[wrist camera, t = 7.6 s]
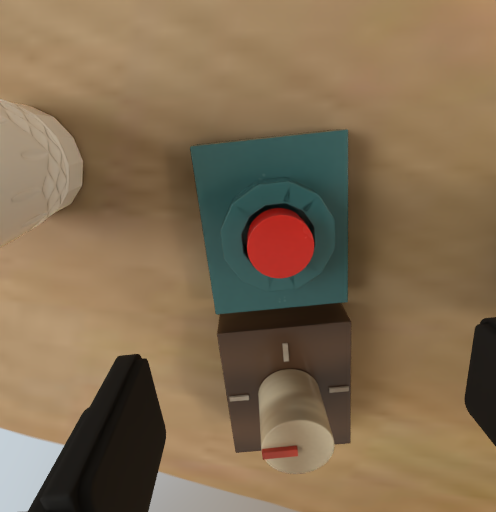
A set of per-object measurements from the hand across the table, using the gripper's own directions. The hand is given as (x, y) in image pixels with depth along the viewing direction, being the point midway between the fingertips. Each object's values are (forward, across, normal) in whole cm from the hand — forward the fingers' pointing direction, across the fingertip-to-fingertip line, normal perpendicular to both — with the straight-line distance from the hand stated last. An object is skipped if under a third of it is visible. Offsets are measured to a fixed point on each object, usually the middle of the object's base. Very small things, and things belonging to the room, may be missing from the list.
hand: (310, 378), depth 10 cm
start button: (+11, 0, -1) cm, 11 cm away
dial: (+11, 0, +11) cm, 16 cm away
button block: (+15, 0, -1) cm, 15 cm away
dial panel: (+14, 0, +11) cm, 18 cm away
